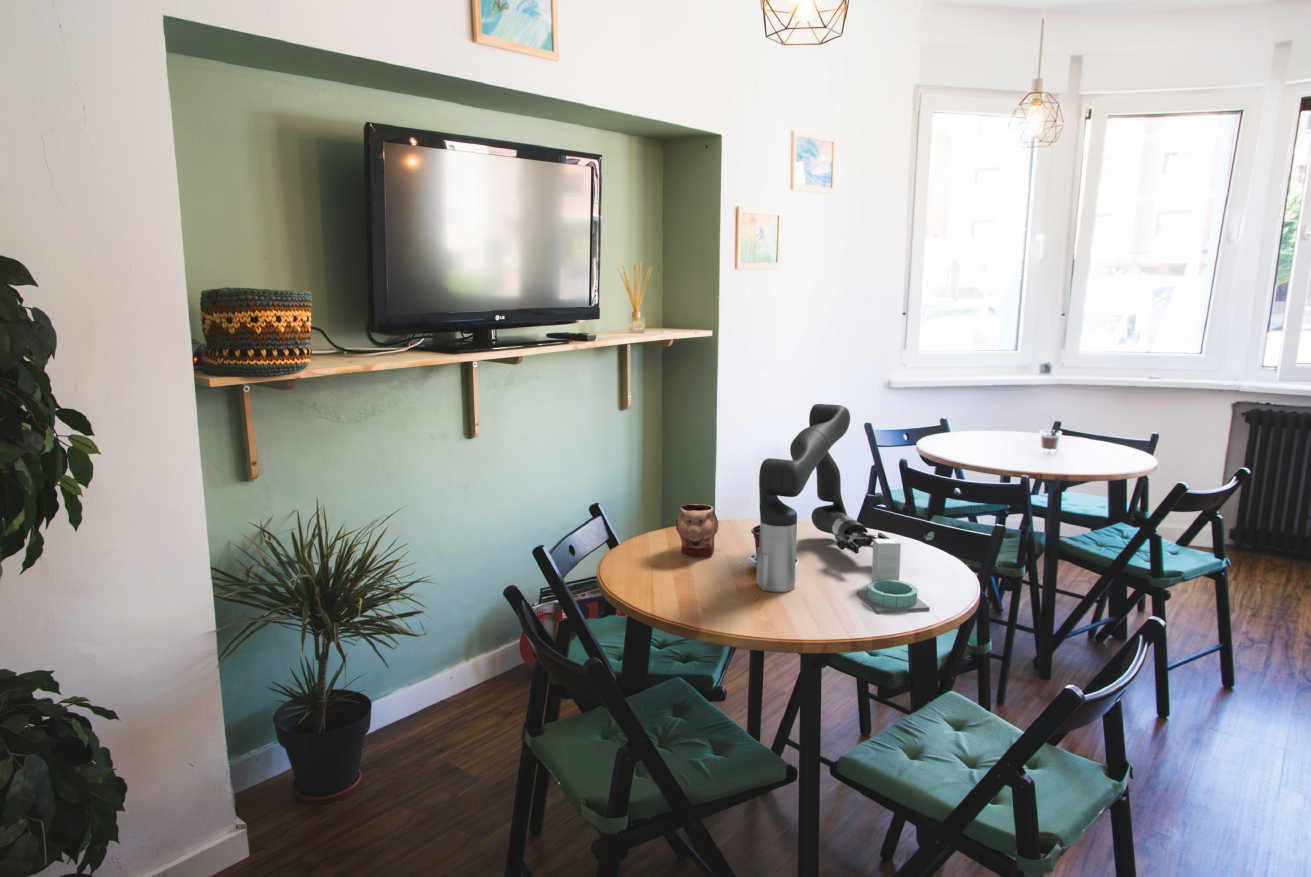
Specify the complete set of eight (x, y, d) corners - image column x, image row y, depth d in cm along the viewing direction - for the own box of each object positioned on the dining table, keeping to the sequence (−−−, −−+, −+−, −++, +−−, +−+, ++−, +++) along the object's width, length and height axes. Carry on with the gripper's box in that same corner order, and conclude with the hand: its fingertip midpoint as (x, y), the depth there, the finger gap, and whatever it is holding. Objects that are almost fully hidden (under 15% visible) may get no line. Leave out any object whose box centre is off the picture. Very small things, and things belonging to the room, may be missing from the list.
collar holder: (877, 613, 189) (878, 598, 188) (856, 593, 202) (856, 579, 201) (929, 610, 191) (930, 596, 190) (905, 590, 203) (905, 577, 203)
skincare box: (893, 582, 210) (896, 538, 207) (898, 588, 205) (901, 543, 203) (870, 582, 209) (872, 538, 207) (875, 588, 205) (877, 543, 203)
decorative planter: (675, 541, 243) (676, 497, 241) (715, 542, 243) (716, 497, 241) (676, 563, 224) (676, 515, 221) (719, 563, 223) (720, 515, 221)
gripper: (826, 520, 228) (848, 536, 212) (873, 518, 230) (898, 534, 215) (825, 545, 230) (846, 564, 214) (872, 543, 232) (897, 561, 216)
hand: (872, 549), depth 214 cm, fingers open, 8 cm apart
